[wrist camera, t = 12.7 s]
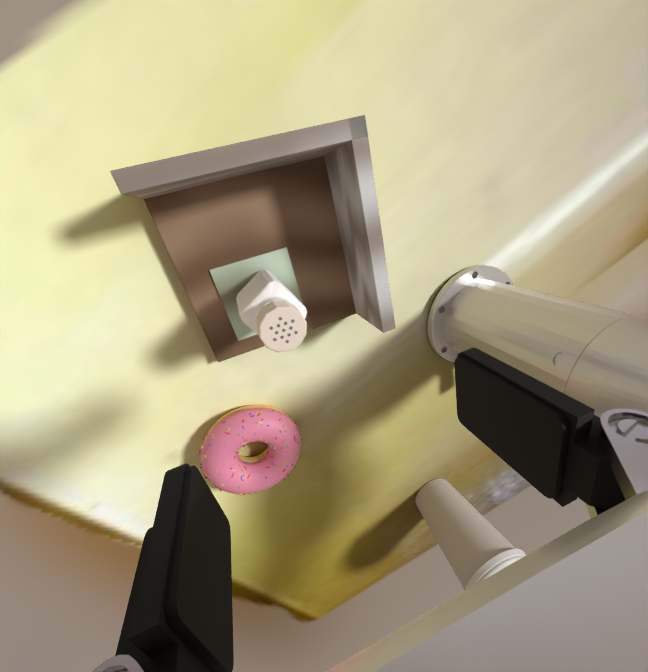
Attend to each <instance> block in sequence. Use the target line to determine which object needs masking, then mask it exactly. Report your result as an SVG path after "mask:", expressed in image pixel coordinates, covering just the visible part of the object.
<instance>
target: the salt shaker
mask: <svg viewBox="0 0 648 672" xmlns="http://www.w3.org/2000/svg"><path fill="white" fill-rule="evenodd" d="M236 301H237V306H238V311H239V316H240V318H241V320H242V322H244V323H245V324H246V325H247V326H248V327H249V328H250V329H252V330H253V331H254V332H255V333H256V334H258V335H259V337H260V339H261V340H262V342H263V343H264V344H265V346H266V347H267V348H269V349H271V350H274V351H276V352H285V351H291V350H292V349H294V348H296V347H297V346H299V345H300V344H301V342H302V341H303V339H304V337H305V336H306V330H307V322H306V320H305V317H306V314H307V310H306V307H305V306H304V305H303V304H302V303H301V302H300V301H299V300H298V299H297V298H296V297H295V296H294V294H293V293H292V292H291V291H290V290H289V289H288V288H287V287H285V286H284V285H283V284H282V283H281V282H280V281H279V280H278V279H277V278H276V277H275V276H274V275H273V274H272V273H271V272H270V271H268V270H266V269H263V270H261V271H259V272H258V273H257V274H256V275H255V276H254V277H253V278H252V279H251V280H250V282H249V283H248V284H247V285H246V286H245V287H244V288H243V289H242V290H241V291H240V292H239V293H238V295H237V297H236Z"/></svg>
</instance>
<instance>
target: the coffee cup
mask: <svg viewBox="0 0 648 672" xmlns="http://www.w3.org/2000/svg"><path fill="white" fill-rule="evenodd" d="M415 503H416V505H417V507H418V509H419V511H420V512H421V514H422V516H423V518H424V519H425V521H426V523H427V525H428V527H429V528H430V530H431V532H432V534H433V535H434V537H435V539H436V541H437V542H438V544H439V546H440V547H441V549H442V551H443V553H444V555H445V556H446V558H447V560H448V562H449V563H450V565H451V567H452V568H453V571H454V572H455V574H456V576H457V578H458V579H459V581H460V583H461V585H462V587H463V588H464V590H467V589H469V588H470V587H472V586H474V585H476V584H477V583H479V582H481V581H483V580H484V579H486V578H488V577H490V576H491V575H493V574H495V573H497V572H498V571H500V570H502V569H503V568H505V567H507V566H509V565H510V564H512V563H514V562H516V561H517V560H519V559H521V558H523V557H525V556H526V555H525V553H524V552H523V551H522V550H520V549H515V548H514V547H513V546H512V545H511V544H510V543H509V542H508V541H507V540H506V539H505V538H504V537H503V536H502V535H501V534H500V533H499V532H498V531H497V530H496V529H495V528H494V527H493V526H492V525H491V524H490V523H489V522H488V521H487V520H486V519H485V518H484V517H483V516H482V515H481V514H480V513H479V512H478V511H477V510H476V509H475V508H474V507H473V506H472V505H471V504H470V503H469V502H468V501H467V500H466V499H465V498H464V497H463V496H462V495H461V494H460V493H459V492H458V491H457V490H456V489H455V488H454V487H453V486H452V485H451V484H450V483H449V482H447V481H446V480H445V479H434V480H432V481H430V482H428V483H427V484H425V485H424V486H423V487H422V488H421V489H420V490H419V492H418V494H417V496H416V499H415Z"/></svg>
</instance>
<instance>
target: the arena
mask: <svg viewBox="0 0 648 672" xmlns="http://www.w3.org/2000/svg"><path fill="white" fill-rule="evenodd" d="M110 172H111V174H112V176H113V178H114V180H115V182H116V184H117V187H118V189H119V191H120V193H121V194H123V195H128V196H133V197H137V198H142V199H144V200H145V202H146V205H147V207H148V209H149V211H150V213H151V216H152V218H153V220H154V222H155V224H156V227H157V229H158V231H159V233H160V235H161V238H162V240H163V242H164V244H165V246H166V248H167V251H168V253H169V255H170V257H171V259H172V262H173V264H174V266H175V268H176V270H177V273H178V275H179V277H180V279H181V281H182V284H183V286H184V288H185V290H186V292H187V295H188V297H189V299H190V301H191V303H192V306H193V308H194V310H195V312H196V314H197V316H198V319H199V321H200V323H201V325H202V327H203V330H204V332H205V334H206V336H207V338H208V341H209V343H210V345H211V347H212V349H213V352H214V354H215V356H216V358H217V360H218V362H221V361H223V360H226V359H229V358H232V357H235V356H237V355H240V354H243V353H246V352H249V351H251V350H254V349H257V348H260V347H263V346H265V344H264V343H263V342H262V340H261V339H260V337H259V335H258V334H256V333H255V332H254V331H253V330H252V329H250V328H249V327H248V326H247V325H246V324H245V323H244V322H242V320H241V318H240V316H239V311H238V306H237V301H236V297H237V295H238V293H239V292H240V291H241V290H242V289H243V288H244V287H245V286H246V285H247V284H248V283H249V282H250V280H251V279H252V278H253V277H254V276H255V275H256V274H257V273H258V272H259V271H261V270H263V269H266V270H268V271H270V272H271V273H272V274H273V275H274V276H275V277H276V278H277V279H278V280H279V281H280V282H281V283H282V284H283V285H284V286H285V287H287V288H288V289H289V290H290V291H291V292H292V293H293V294H294V296H295V297H296V298H297V299H298V300H299V301H300V302H301V303H302V304H303V305H304V306H305V307H306V310H307V314H306V317H305V320H306V322H307V330H306V331H308V330H311V329H313V328H316V327H319V326H322V325H325V324H327V323H330V322H333V321H336V320H339V319H341V318H344V317H347V316H350V315H353V314H356V313H357V314H358V315H359V316H361V317H362V318H364V319H365V320H366V321H368V322H369V323H371V324H372V325H373V326H375V327H376V328H378V329H379V330H380V331H382V332H383V333H384V332H387V331H389V330H392V329H395V322H394V315H393V308H392V301H391V294H390V287H389V280H388V273H387V266H386V259H385V252H384V245H383V238H382V231H381V224H380V217H379V210H378V203H377V196H376V189H375V182H374V176H373V169H372V162H371V155H370V148H369V141H368V134H367V127H366V120H365V115H363V116H359V117H354V118H350V119H345V120H340V121H336V122H331V123H327V124H322V125H318V126H313V127H309V128H304V129H299V130H295V131H290V132H286V133H281V134H277V135H272V136H268V137H263V138H258V139H254V140H249V141H245V142H240V143H236V144H231V145H227V146H222V147H217V148H213V149H208V150H204V151H199V152H195V153H190V154H186V155H181V156H176V157H172V158H167V159H163V160H158V161H154V162H149V163H144V164H140V165H135V166H131V167H126V168H122V169H117V170H113V171H110Z"/></svg>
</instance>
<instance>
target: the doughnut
mask: <svg viewBox="0 0 648 672" xmlns="http://www.w3.org/2000/svg"><path fill="white" fill-rule="evenodd" d="M301 440H302V439H301V435H300V431H299V429H298V427H297V425H296V423H295V422H294V421H293V420H292V419H291V418H290V416H288V415H287V414H286V413H285V412H283V411H281V410H279V409H277V408H275V407H272V406H267V405H248V406H244V407H240V408H237V409H235V410H232V411H230V412H229V413H227V414H225V415H224V416H222V417H221V418H220V419H219V420H218V421H217V422H216V423H215V424H214V425H213V426H212V427H211V428H210V430H209V432H208V433H207V435H206V437H205V439H204V440H203V444H202V446H201V450H200V460H201V465H202V467H200V468H202V469H203V470H204V472H205V474H204V475H206V476H207V477H205V478H208V479H209V480H210V481H211V483H213V484H214V485H215V487H218V488H220V489H221V490H224V491H226V492H230V493H234V494H240V496H241V495H242V494H243V495H245V494H252V493H257V492H261V491H264V490H266V489H269V488H271V487H273V486H274V485H276V484H278V483H279V482H280V481H282V480H284V478H285V477H286V476H288V474H289V473H290V472H291V470H292V469H293V468H294V467H295V464H296V462H297V460H298V457H299V454H300V449H301ZM256 441H261V442H262V443H263V442H264V443H266V444H267V445H268V448H267V449H266V450H265V451H264V452H263V453H261V454H259V455H257V456H254V457H243V456H240V455H239V454H238V453H239V452H238V450H239V449H240V448H241V447H244V446H246V445H245V444H248V443H251V442H256ZM221 490H220V491H221Z"/></svg>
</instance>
